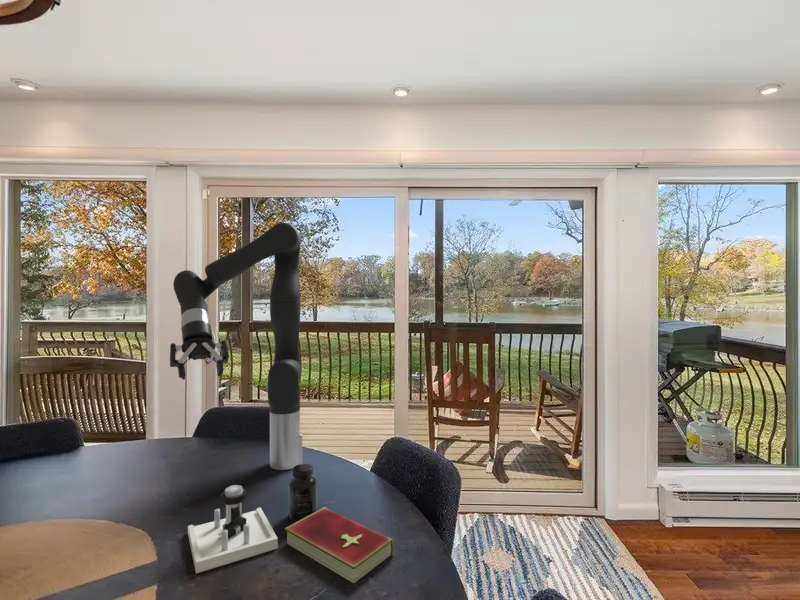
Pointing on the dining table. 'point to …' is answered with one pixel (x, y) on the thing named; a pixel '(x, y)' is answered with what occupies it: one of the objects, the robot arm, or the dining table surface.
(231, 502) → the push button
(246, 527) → the tray
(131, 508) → the dining table surface
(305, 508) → the supplement bottle
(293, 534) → the hardcover book
